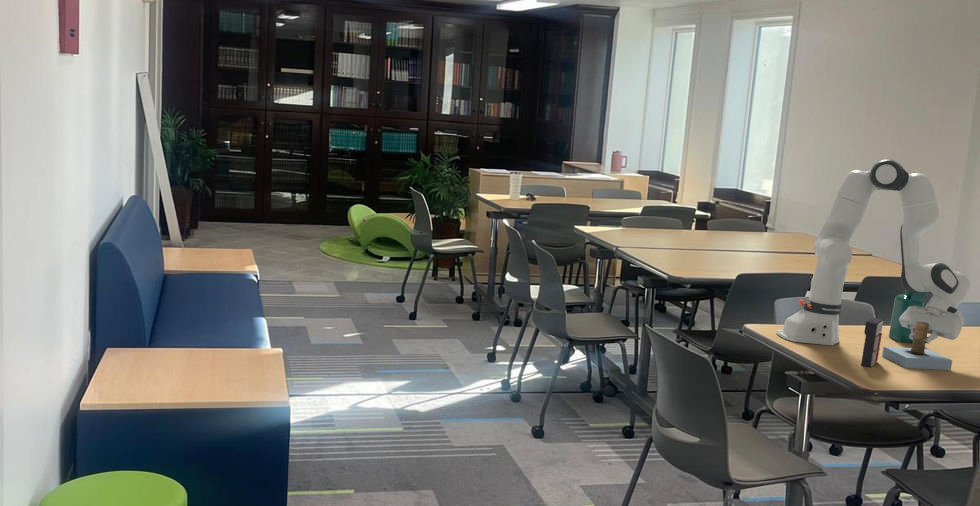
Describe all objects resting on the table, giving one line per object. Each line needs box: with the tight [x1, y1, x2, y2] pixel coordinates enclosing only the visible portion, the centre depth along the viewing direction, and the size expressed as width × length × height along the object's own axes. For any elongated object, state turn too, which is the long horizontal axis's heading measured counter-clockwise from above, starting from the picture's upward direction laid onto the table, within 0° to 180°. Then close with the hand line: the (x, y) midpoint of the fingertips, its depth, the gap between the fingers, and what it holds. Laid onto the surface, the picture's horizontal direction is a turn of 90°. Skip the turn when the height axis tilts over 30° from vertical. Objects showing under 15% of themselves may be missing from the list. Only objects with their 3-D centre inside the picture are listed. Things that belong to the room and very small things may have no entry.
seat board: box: [881, 346, 953, 371], centre depth 320 cm, size 17×14×4 cm
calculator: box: [860, 316, 884, 368], centre depth 312 cm, size 11×4×15 cm, turn 148°
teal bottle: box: [888, 289, 926, 344], centre depth 353 cm, size 10×8×22 cm
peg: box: [911, 322, 929, 356], centre depth 319 cm, size 4×4×14 cm
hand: (918, 340), depth 318 cm, fingers closed on peg, 4 cm apart
